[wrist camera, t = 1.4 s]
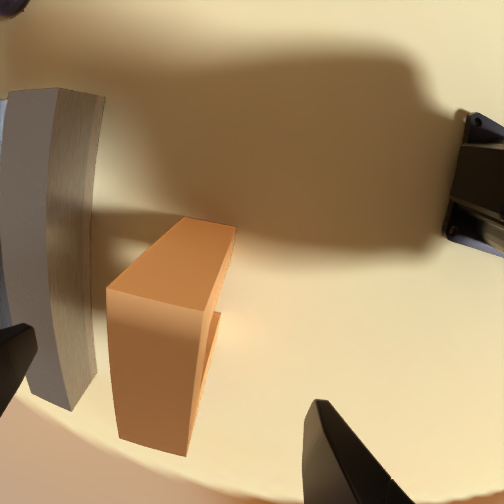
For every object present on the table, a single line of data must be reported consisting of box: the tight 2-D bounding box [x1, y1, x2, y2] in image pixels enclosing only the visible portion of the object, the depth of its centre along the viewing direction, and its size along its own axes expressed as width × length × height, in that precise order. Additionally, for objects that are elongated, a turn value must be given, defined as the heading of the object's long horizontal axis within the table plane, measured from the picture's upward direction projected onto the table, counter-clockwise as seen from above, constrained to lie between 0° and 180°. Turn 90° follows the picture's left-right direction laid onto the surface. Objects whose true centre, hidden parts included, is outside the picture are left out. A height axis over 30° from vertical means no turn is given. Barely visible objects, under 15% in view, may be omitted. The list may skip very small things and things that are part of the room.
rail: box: [0, 88, 105, 412], centre depth 13 cm, size 10×16×4 cm, turn 169°
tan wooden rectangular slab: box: [106, 217, 236, 457], centre depth 11 cm, size 2×6×8 cm, turn 169°
